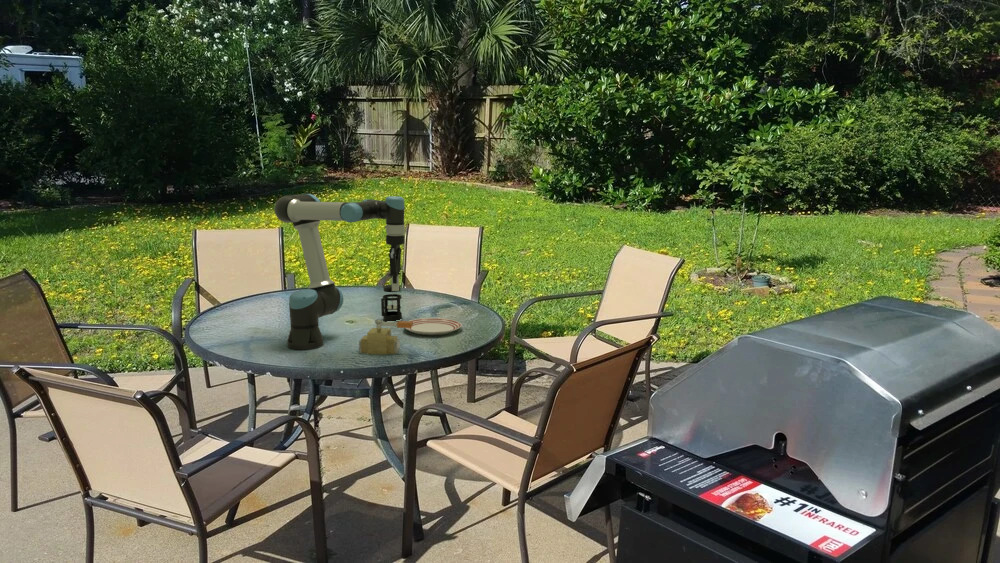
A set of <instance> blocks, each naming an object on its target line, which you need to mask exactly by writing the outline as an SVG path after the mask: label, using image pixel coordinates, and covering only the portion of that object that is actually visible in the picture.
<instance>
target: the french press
mask: <svg viewBox="0 0 1000 563" xmlns="http://www.w3.org/2000/svg"><path fill="white" fill-rule="evenodd" d="M386 275H387V276H388V277H389V276H390V273H387V274H386ZM390 280H391V281H390V282H391V284H385V285H383V286H382V288H383V292H384V293H387V294H384V295H383V296H382V297H381V298H380V303H381V312H380V313H381V317H383V319H382V321H383V320H385V321H396V320H400V319H402V320H403V315H402V314H403V313H402V312H401V308H402V306H401V299H402V295H401V294H398V293H397V292H401V288H402V285H400V284H399V291H392V276H390ZM388 293H389V294H388ZM396 293H397V294H396ZM389 301H391V305H389ZM395 301H396V304H394V303H393V302H395ZM385 321H384V322H385Z"/></svg>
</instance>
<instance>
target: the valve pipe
mask: <svg viewBox="0 0 1000 563" xmlns="http://www.w3.org/2000/svg"><path fill="white" fill-rule="evenodd" d="M381 329H382V330H381V331H377V327H372V328H371V329H370V330H369V331H367V334H365V335H363V337H361V338H360V339H359V341H358V349H359V351H358V352H359V353H360V354H368V355H384V356H385V355H396V353H397V354H399V352H400V351H401V346H400V344H401V343H400V342H401V341H400V340H401V339H400V338H398V335H392V330H391V328H388V327H387V328H385V327H381ZM399 350H400V351H399Z"/></svg>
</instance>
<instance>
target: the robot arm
mask: <svg viewBox="0 0 1000 563" xmlns="http://www.w3.org/2000/svg"><path fill="white" fill-rule="evenodd" d="M405 207H406V206H405V199H404V197H402V196H394V195H393V196H386V197H385V200H379V199H378V200H376V199H363V200H362V201H357V202H355V201H354V202H348V201H347V202H346V201H344V202H343V201H338V202H336V201H321V200H320V199H319V198H318V197H317V196H315V195H314V194H311V193H301V194H299V193H298V194H292V195H291V194H290V195H283V196H282V197H280V198H279V199H277V200H276V202H275V204H274V208H273V210H274V214H275V217H276V218H277V219H278V220H279V221H281V222H283V223H288V224H291V223H292V226H293V228H294V229H296V230H297V231H298V236H299V240H300V244H301V249H302V253H303V257H304V262H305V265H306V270H307V275H308V280H309V283H310V284H309V285H308V287H307V289H302V290H296V291H294V292H292V293H291V294H290V296H289V297H288V298H289V302H288V307H289V309H288V310H289V322H290V324H289V325H290V330H289V334H288V336H287V337H288V338H287V341H286V345H287V348H288V349H291V350H297V351H301V350H302V351H303V350H304V351H306V350H313V349H317V348H321V347H322V346H324V338H323V335H322V331H321V329H320V327H319V318H321V317H324V316H329V315H332V314H335V313H337V312H338V311H340V309H342V308H341V307H343V303H344V294H343V292H342V290H341V289H340V288H339V287H338V286H336V284H335V281H333V280H332V279H331V278H330V273H329V270H328V265H327V260H326V258H325V257H326V256H325V252H324V247H323V245H322V240H321V235H320V231H319V225H320V223H321V221H334V222H335V221H336V222H338V221H341V222H347V223H357V222H361V221H367V220H374V219H377V220H379V219H380V220H385V225H384V229H385V233H386V235H385V243H386V245H390V248H389V253H388V258H389V270H390V272H389V274H390V277H391V276H392V291H398V292H400V291H399V285H400V276H401V275H402V272H401V261H402V260H401V258H402V250H403V249H402V248H401V245H404V244H405V230H406V229H405V210H406V209H405Z"/></svg>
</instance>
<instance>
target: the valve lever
mask: <svg viewBox="0 0 1000 563" xmlns="http://www.w3.org/2000/svg"><path fill="white" fill-rule="evenodd" d="M374 322H375V324H376V328H377V331H381V330H382V329H381V328H382V327H396V328H398V329H399V328H401V329H402V328H403V329H405V328H412V327H413V321H410V320H401V321H398V322H385V321H383V319H375V320H374Z"/></svg>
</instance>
